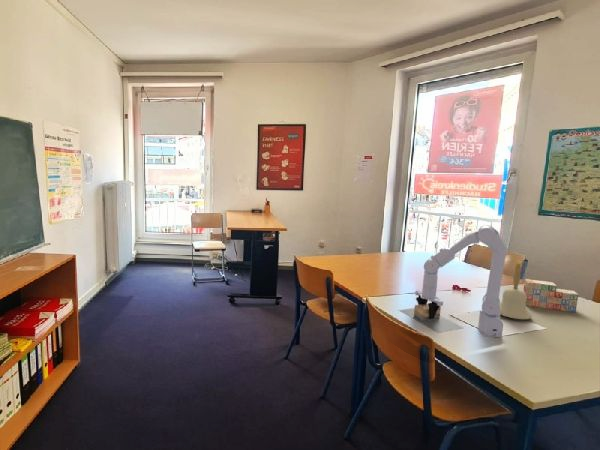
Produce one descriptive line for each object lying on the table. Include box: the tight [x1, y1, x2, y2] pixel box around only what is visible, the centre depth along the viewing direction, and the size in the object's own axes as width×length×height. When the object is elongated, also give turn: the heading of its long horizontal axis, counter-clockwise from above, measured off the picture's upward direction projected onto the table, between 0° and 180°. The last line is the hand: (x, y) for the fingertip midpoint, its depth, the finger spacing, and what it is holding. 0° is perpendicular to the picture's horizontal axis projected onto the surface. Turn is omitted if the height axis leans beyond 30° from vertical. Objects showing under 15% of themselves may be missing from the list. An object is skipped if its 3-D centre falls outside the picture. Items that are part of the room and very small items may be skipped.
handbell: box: [499, 263, 533, 320], centre depth 158 cm, size 15×15×25 cm
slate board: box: [398, 307, 464, 334], centre depth 150 cm, size 24×14×1 cm, turn 23°
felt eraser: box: [414, 303, 442, 321], centre depth 151 cm, size 10×5×5 cm, turn 113°
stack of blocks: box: [523, 278, 579, 313], centre depth 173 cm, size 21×6×12 cm, turn 66°
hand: (426, 315), depth 152 cm, fingers closed on felt eraser, 5 cm apart
